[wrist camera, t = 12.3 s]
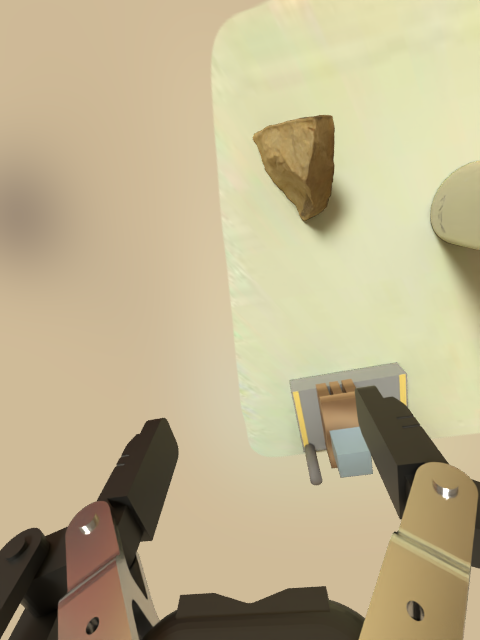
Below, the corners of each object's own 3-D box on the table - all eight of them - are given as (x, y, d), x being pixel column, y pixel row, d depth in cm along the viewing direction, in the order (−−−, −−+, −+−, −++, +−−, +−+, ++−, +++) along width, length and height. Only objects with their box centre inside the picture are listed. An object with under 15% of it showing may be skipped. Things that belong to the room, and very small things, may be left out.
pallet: (315, 384, 41) (321, 402, 37) (351, 378, 40) (360, 396, 36) (325, 446, 45) (331, 468, 41) (358, 442, 44) (367, 464, 41)
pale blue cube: (329, 430, 39) (337, 454, 35) (359, 426, 38) (370, 450, 34) (332, 452, 40) (340, 477, 36) (362, 448, 40) (372, 473, 36)
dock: (396, 362, 42) (431, 402, 34) (399, 424, 46) (430, 473, 38) (289, 380, 44) (296, 421, 36) (301, 438, 48) (310, 486, 40)
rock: (349, 222, 33) (364, 116, 28) (313, 239, 27) (324, 111, 22) (271, 214, 39) (272, 127, 34) (230, 227, 33) (223, 125, 28)
